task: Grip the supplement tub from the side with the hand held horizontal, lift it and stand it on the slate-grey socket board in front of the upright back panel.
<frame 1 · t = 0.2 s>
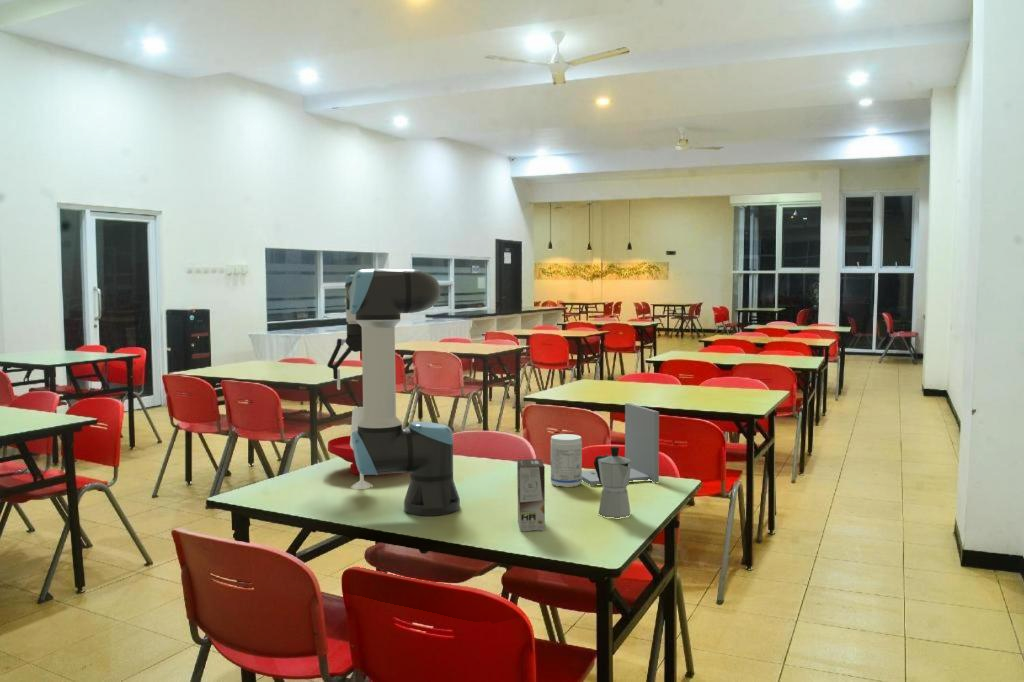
hand: (360, 388, 252), 28 cm above the table, tool pointing down, fingers open, 13 cm apart
coffee maker: (612, 514, 205), on the table
supplement tub: (566, 484, 237), on the table
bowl: (375, 470, 258), on the table
champagne flute: (362, 487, 236), on the table
socket stand: (600, 479, 243), on the table
coffee box: (530, 526, 195), on the table
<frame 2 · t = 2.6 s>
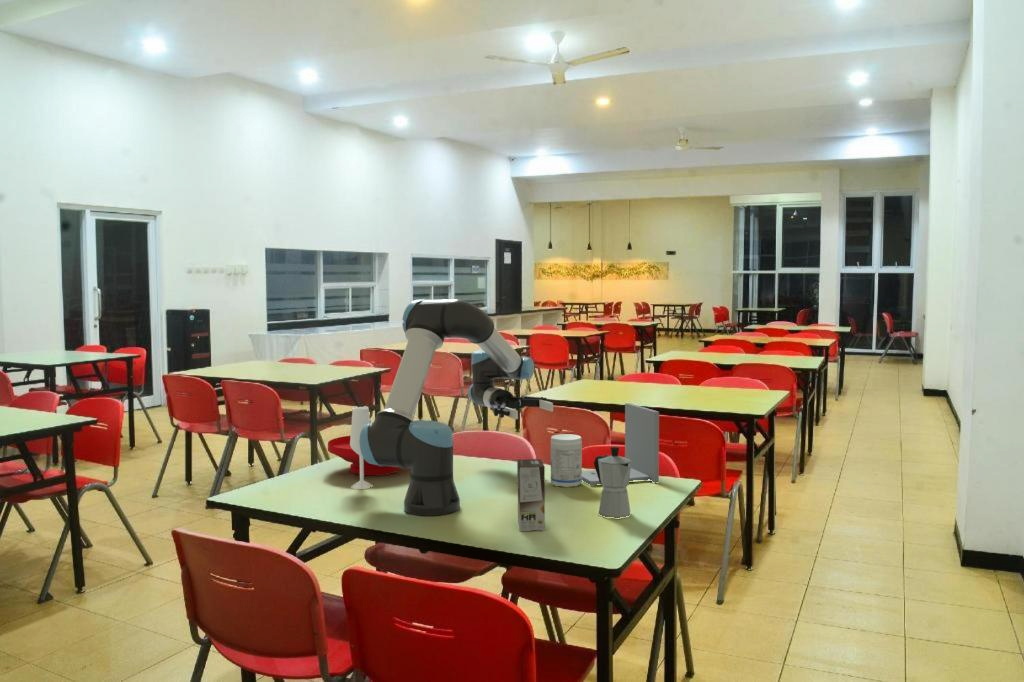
hand: (534, 411, 245), 21 cm above the table, tool horizontal, fingers open, 13 cm apart
nothing on the table moved.
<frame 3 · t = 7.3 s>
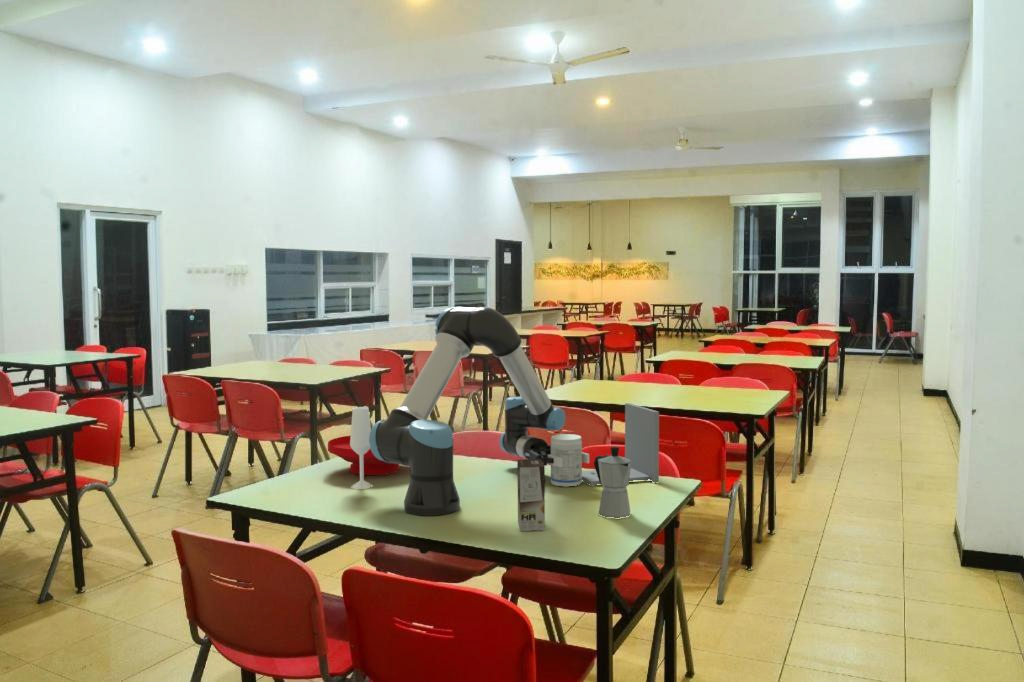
hand: (575, 460, 233), 8 cm above the table, tool horizontal, fingers closed on supplement tub, 9 cm apart
supplement tub: (566, 484, 237), on the table, touching gripper
everything else where it was.
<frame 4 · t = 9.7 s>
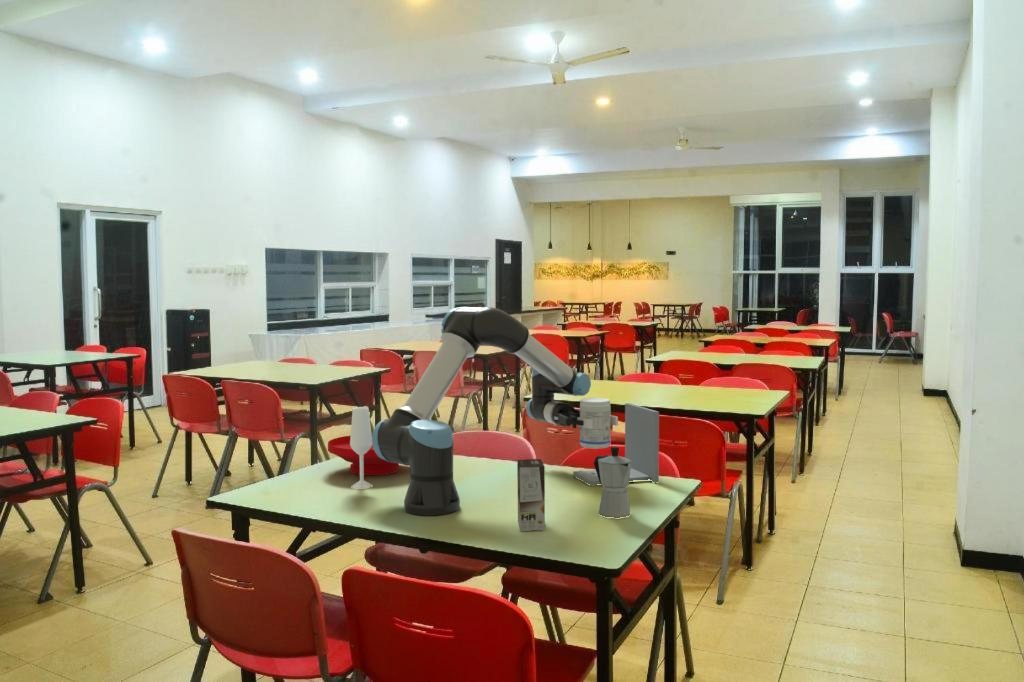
hand: (604, 422, 238), 19 cm above the table, tool horizontal, fingers closed on supplement tub, 9 cm apart
supplement tub: (595, 447, 242), point 10 cm above the table, touching gripper
everything else where it was.
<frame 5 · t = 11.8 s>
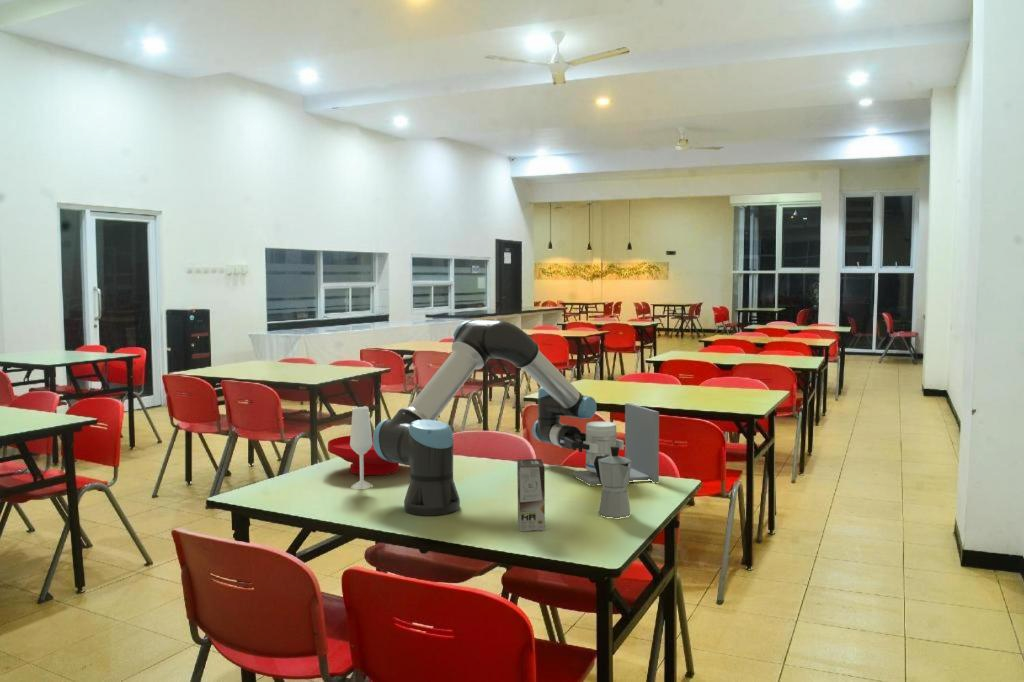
hand: (610, 447, 239), 11 cm above the table, tool horizontal, fingers closed on supplement tub, 9 cm apart
supplement tub: (600, 470, 243), point 3 cm above the table, touching gripper
everything else where it was.
when the fingers open (11 cm above the table, at t = 12.1 s): supplement tub drops 1 cm, resting on socket stand.
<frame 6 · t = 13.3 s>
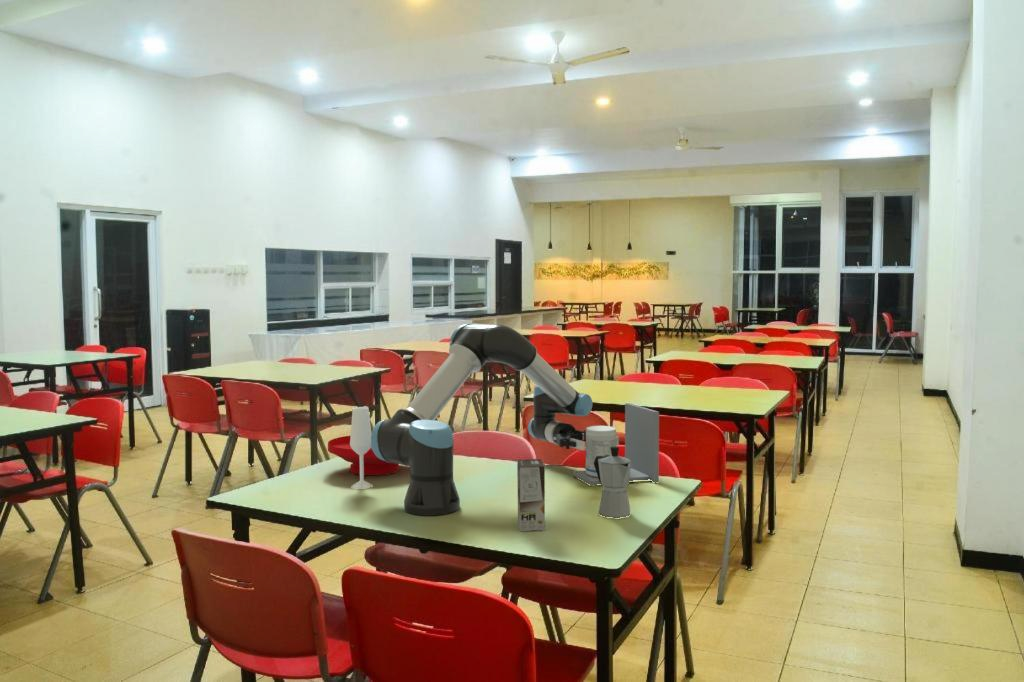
hand: (601, 443, 243), 11 cm above the table, tool horizontal, fingers open, 13 cm apart
supplement tub: (600, 475, 243), point 1 cm above the table, touching socket stand
everything else where it was.
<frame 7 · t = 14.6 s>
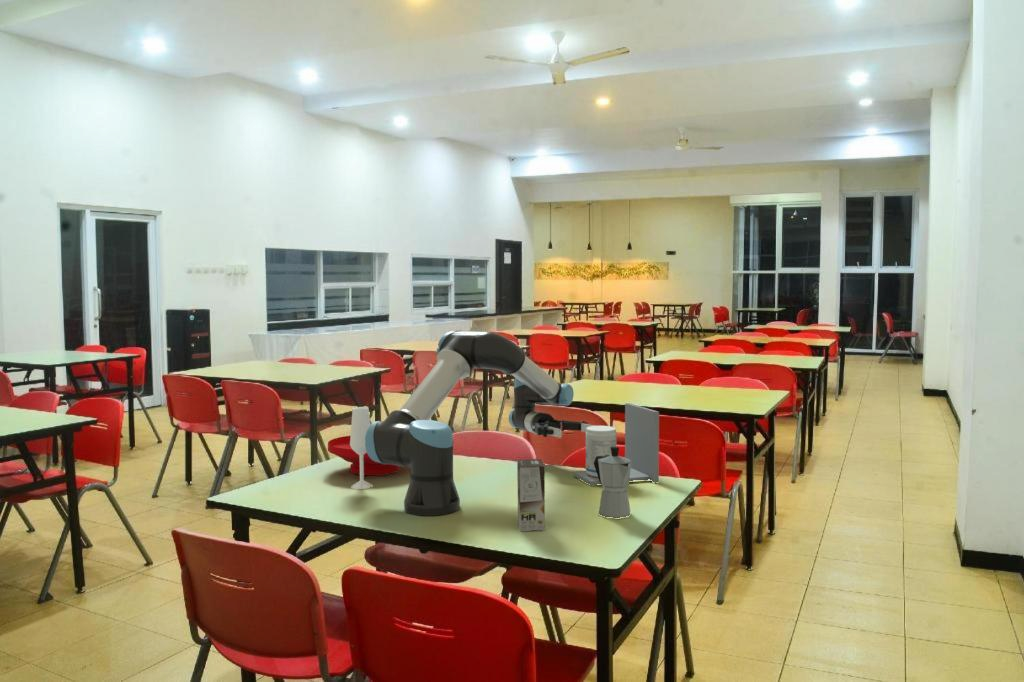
hand: (577, 431, 251), 14 cm above the table, tool horizontal, fingers open, 13 cm apart
nothing on the table moved.
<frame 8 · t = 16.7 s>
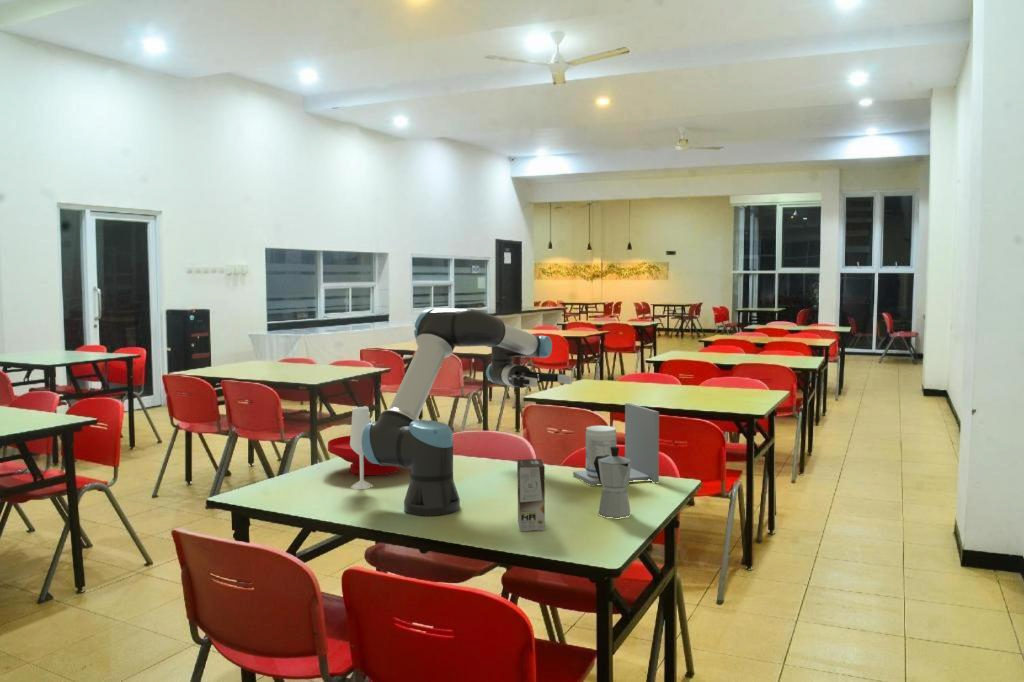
hand: (553, 381, 249), 30 cm above the table, tool horizontal, fingers open, 13 cm apart
nothing on the table moved.
at the end: supplement tub inside the target area on the socket stand (0.0 cm from its centre), point 1.4 cm above the socket stand's base; supplement tub tilted 0°; the gripper is holding nothing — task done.
